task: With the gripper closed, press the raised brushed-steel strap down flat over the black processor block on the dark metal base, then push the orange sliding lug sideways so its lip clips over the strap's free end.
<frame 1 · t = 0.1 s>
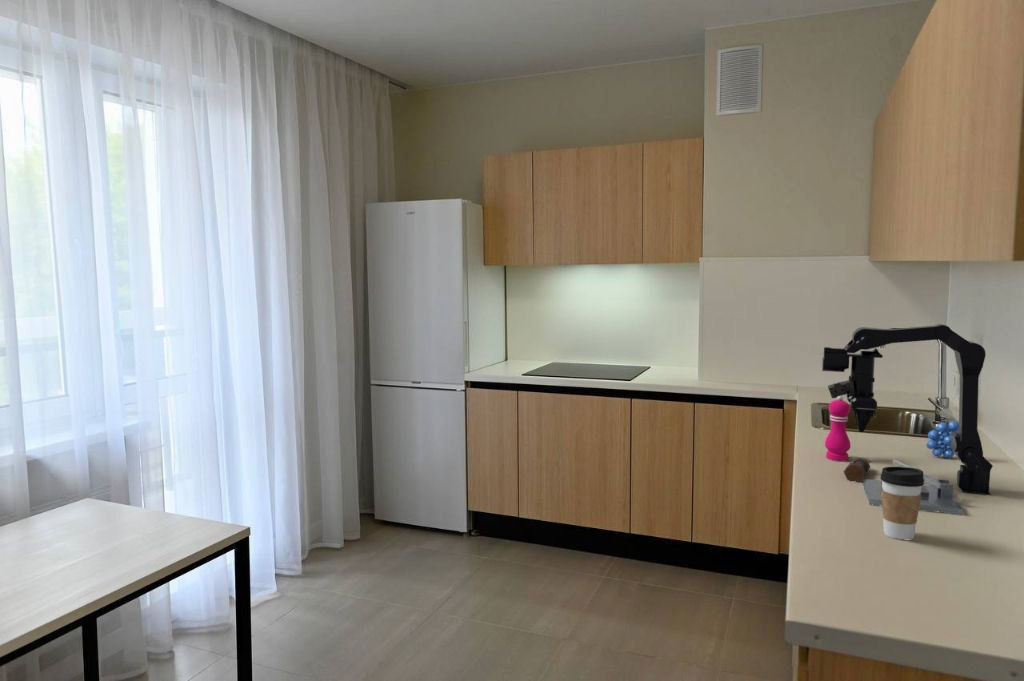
hand: (859, 428, 195), 14 cm above the table, tool pointing down, fingers open, 9 cm apart
strap: (921, 475, 179), point 6 cm above the table, hinge at 25.0°
bolt: (858, 476, 200), on the table
lug: (890, 487, 176), point 4 cm above the table, slide at 0.0 cm
grapes: (946, 458, 219), on the table
coffee cup: (898, 536, 155), on the table
pepper mill: (836, 459, 217), on the table
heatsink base: (909, 498, 180), on the table
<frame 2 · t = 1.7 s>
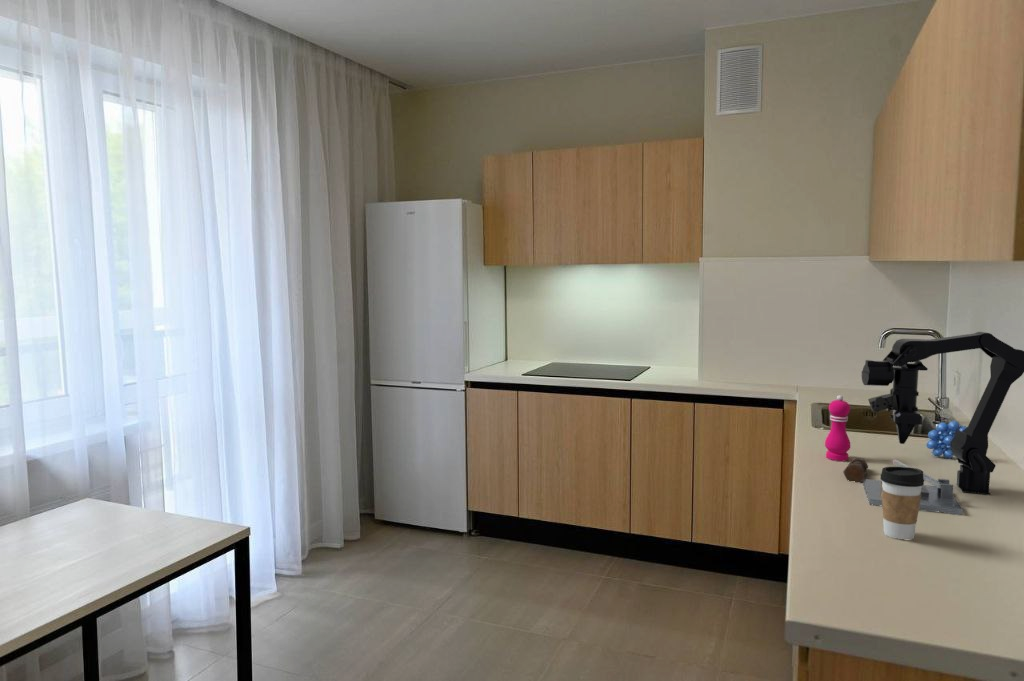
hand: (901, 443, 188), 12 cm above the table, tool pointing down, fingers closed
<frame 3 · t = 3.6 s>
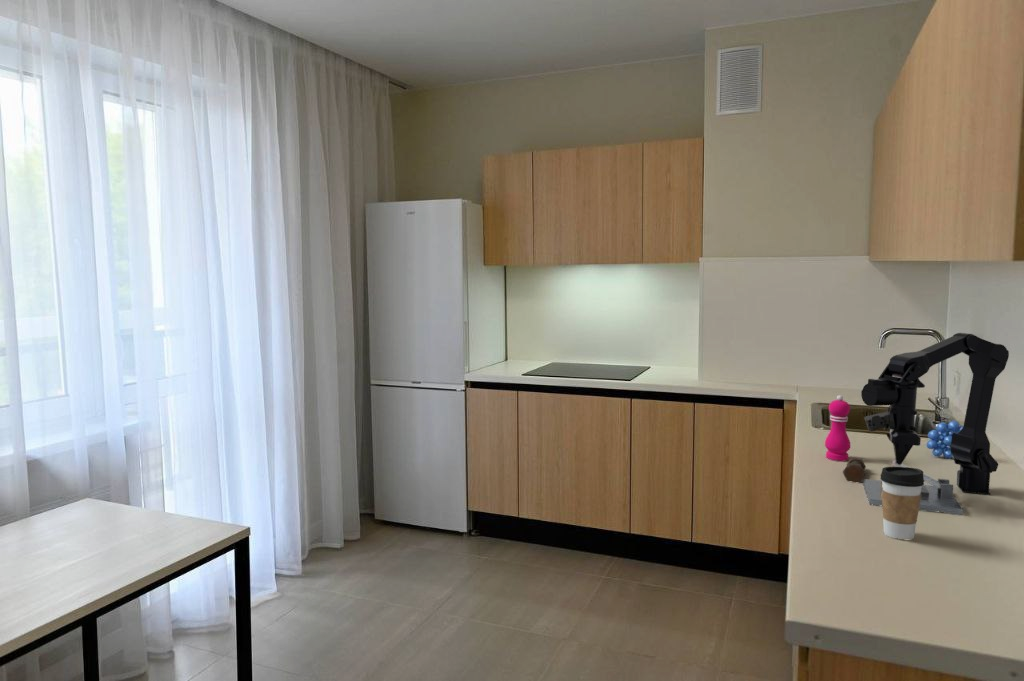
hand: (898, 463, 181), 9 cm above the table, tool pointing down, fingers closed, pressing on strap
strap: (920, 476, 179), point 6 cm above the table, hinge at 23.3°, touching gripper
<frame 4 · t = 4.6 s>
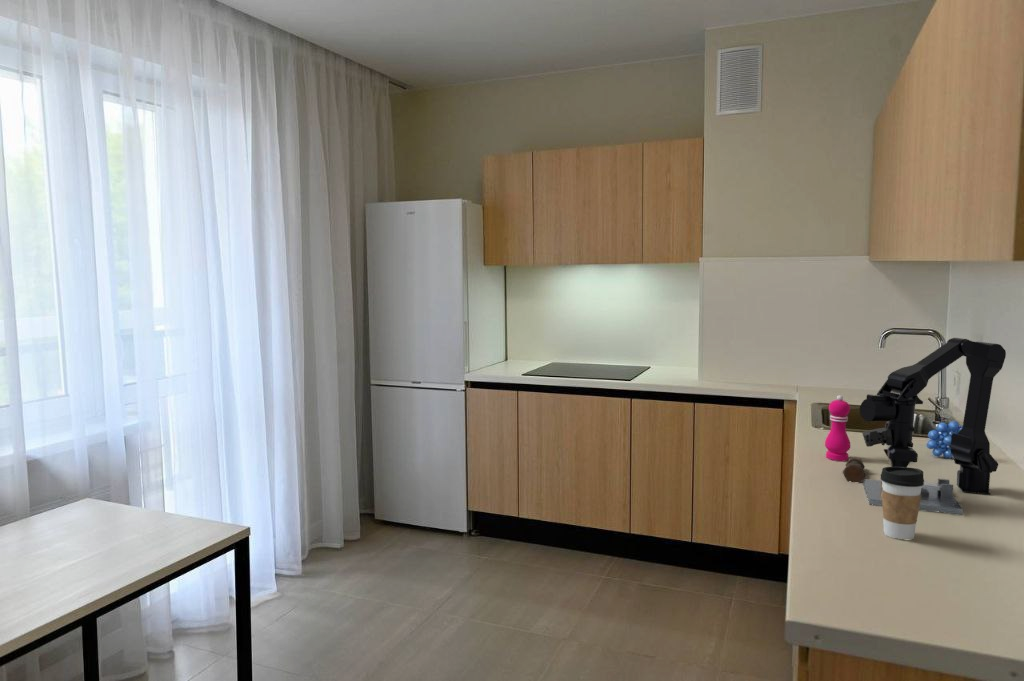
hand: (895, 479, 181), 4 cm above the table, tool pointing down, fingers closed, pressing on strap
strap: (918, 484, 179), point 4 cm above the table, hinge at 2.9°, touching gripper
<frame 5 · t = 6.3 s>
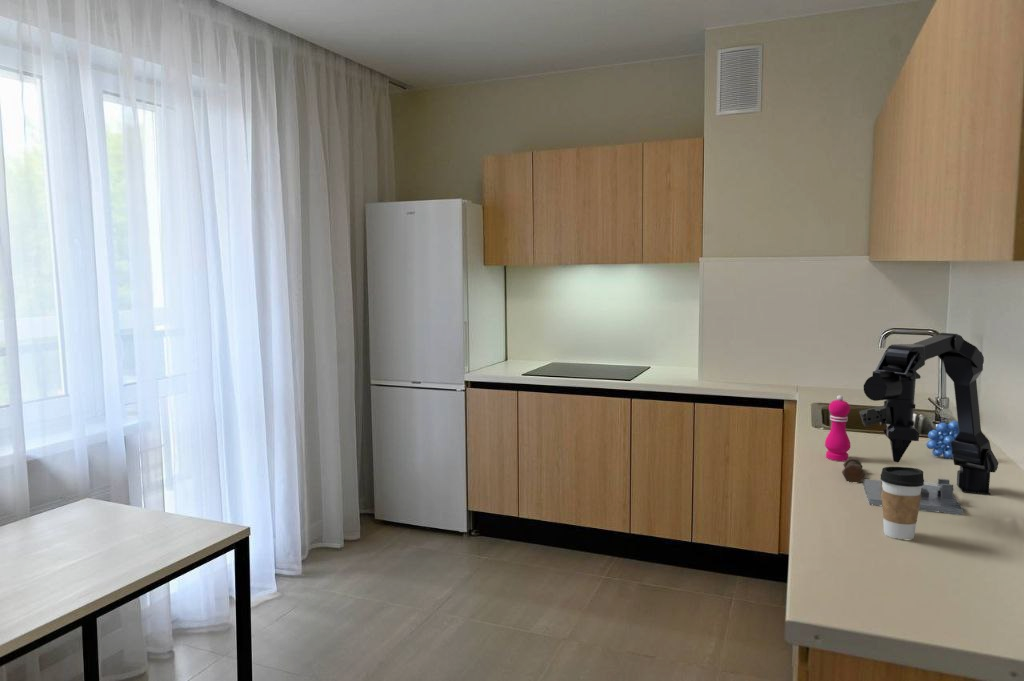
hand: (896, 461, 168), 13 cm above the table, tool pointing down, fingers closed
strap: (918, 484, 179), point 4 cm above the table, hinge at 2.8°
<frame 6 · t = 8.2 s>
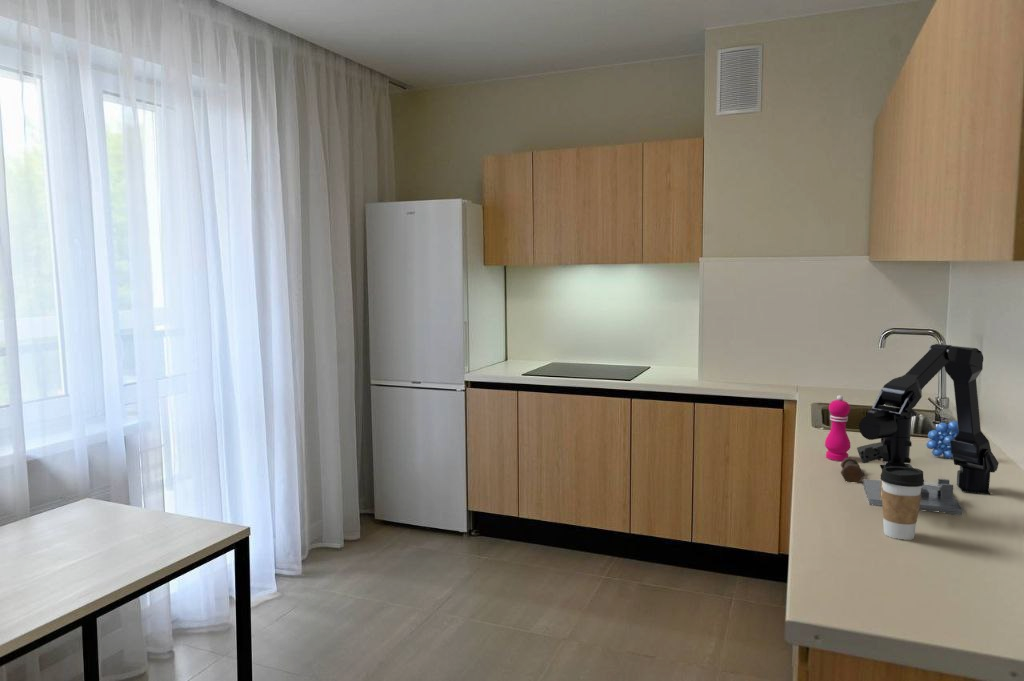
hand: (893, 497, 172), 3 cm above the table, tool pointing down, fingers closed
lug: (890, 486, 177), point 4 cm above the table, slide at 0.8 cm, touching gripper
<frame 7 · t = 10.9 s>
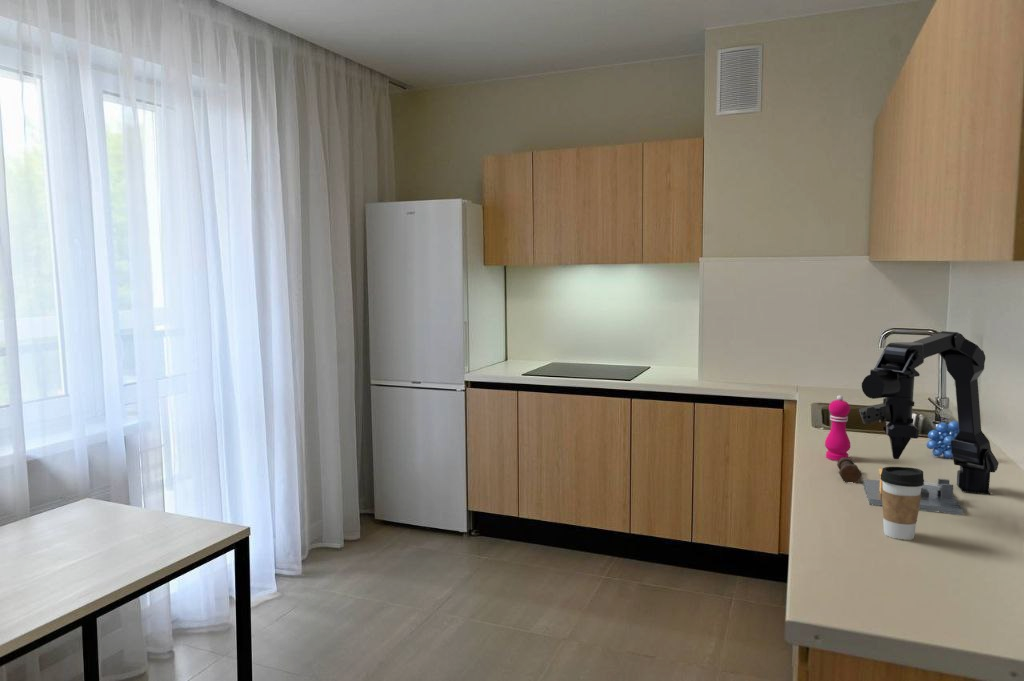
hand: (895, 458, 170), 13 cm above the table, tool pointing down, fingers closed
lug: (888, 481, 180), point 4 cm above the table, slide at 4.5 cm
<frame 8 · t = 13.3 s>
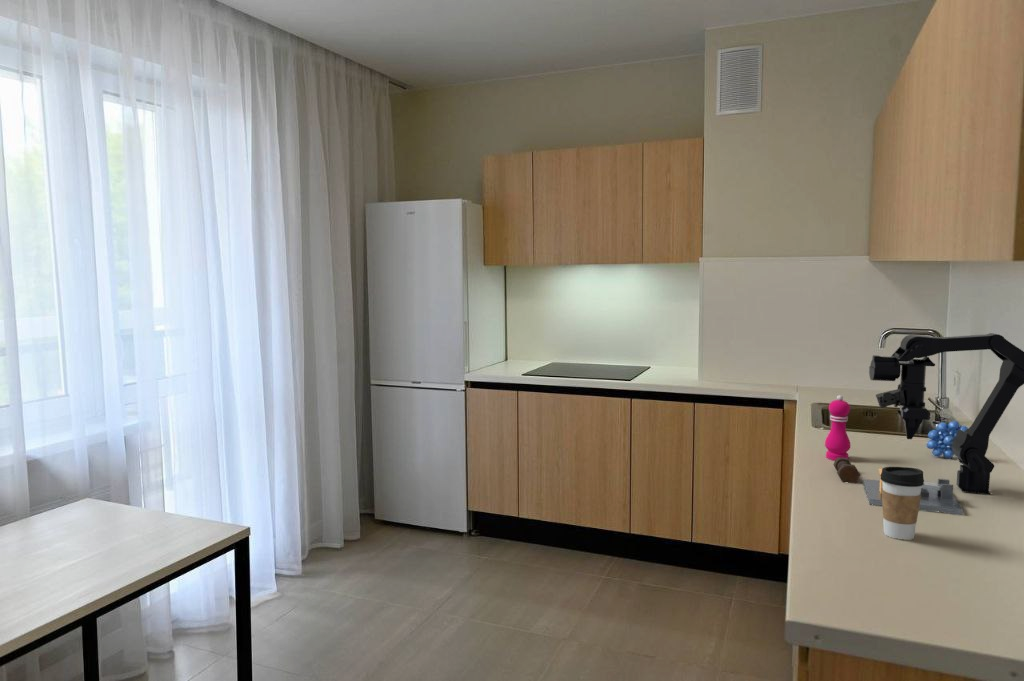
hand: (909, 438, 189), 13 cm above the table, tool pointing down, fingers closed
at the end: strap at +3° (first picture: +25°); lug slide at 4.5 cm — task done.
